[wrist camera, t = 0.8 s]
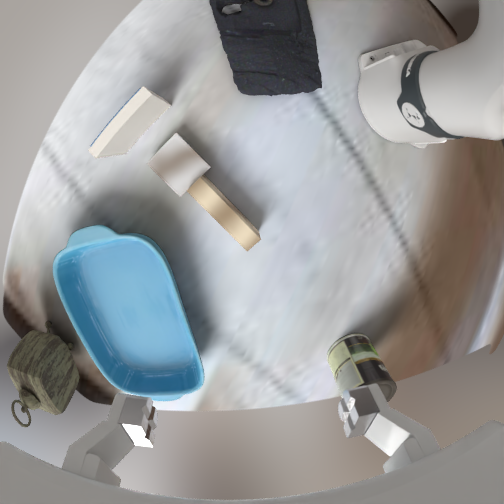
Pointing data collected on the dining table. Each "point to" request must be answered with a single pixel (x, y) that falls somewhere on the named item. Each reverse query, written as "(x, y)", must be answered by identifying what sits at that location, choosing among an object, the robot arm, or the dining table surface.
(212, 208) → the turner
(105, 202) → the dining table surface
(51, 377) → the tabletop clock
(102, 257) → the casserole dish
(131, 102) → the tile
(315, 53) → the black folded cloth
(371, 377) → the coffee can
